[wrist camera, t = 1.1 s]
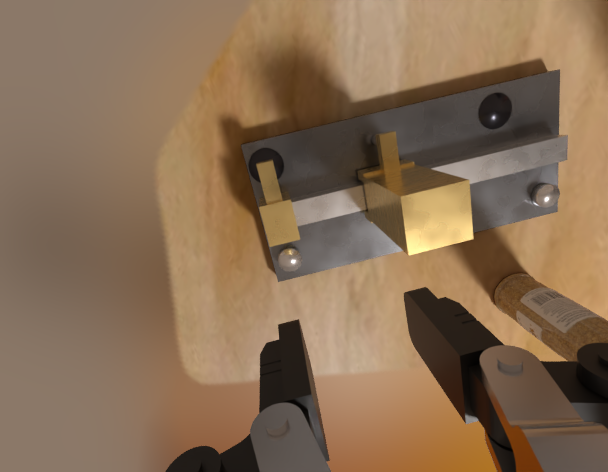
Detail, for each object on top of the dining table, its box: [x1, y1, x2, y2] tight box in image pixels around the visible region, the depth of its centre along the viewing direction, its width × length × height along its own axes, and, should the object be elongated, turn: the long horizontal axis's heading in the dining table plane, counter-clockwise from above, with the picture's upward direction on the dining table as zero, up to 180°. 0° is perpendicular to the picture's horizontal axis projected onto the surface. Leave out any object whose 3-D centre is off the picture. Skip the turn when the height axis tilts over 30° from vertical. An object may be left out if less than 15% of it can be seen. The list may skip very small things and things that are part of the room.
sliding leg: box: [357, 131, 473, 255], centre depth 24 cm, size 4×7×10 cm, turn 13°
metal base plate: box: [241, 69, 560, 282], centre depth 30 cm, size 26×12×2 cm, turn 103°
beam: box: [256, 135, 568, 247], centre depth 28 cm, size 25×6×3 cm, turn 103°
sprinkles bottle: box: [494, 273, 608, 361], centre depth 29 cm, size 5×5×13 cm
